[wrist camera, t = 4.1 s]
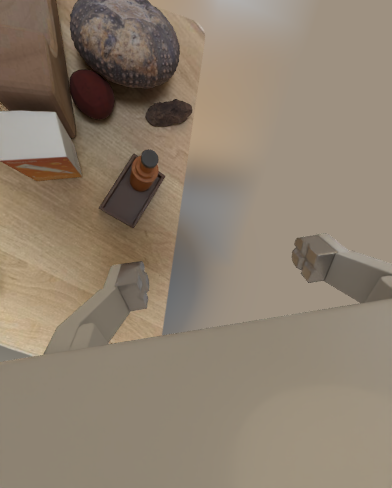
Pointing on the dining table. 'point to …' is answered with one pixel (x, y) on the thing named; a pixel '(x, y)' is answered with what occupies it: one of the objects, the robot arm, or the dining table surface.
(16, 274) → the dining table surface
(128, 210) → the tray
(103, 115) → the potato
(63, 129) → the small box
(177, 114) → the stone
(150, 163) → the tray bottle
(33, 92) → the decorative block
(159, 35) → the sea urchin shell
